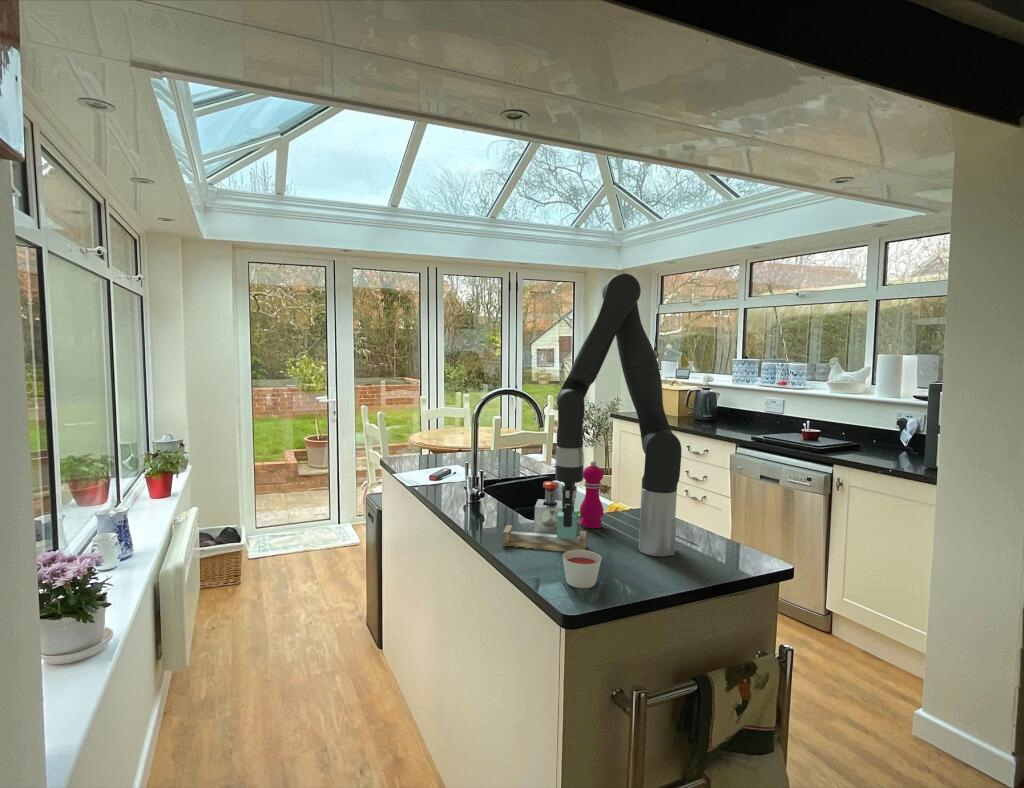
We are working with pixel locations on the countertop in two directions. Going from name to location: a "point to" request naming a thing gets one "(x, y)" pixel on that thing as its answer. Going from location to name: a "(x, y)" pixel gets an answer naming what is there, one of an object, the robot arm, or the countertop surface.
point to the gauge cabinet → (546, 517)
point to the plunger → (550, 492)
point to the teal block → (566, 531)
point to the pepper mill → (592, 497)
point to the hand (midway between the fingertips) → (568, 521)
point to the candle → (581, 568)
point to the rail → (542, 546)
